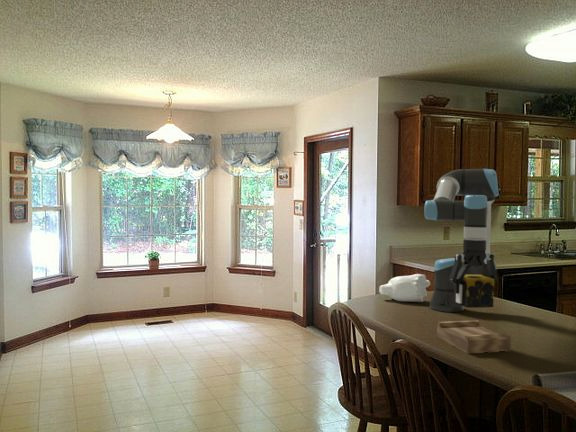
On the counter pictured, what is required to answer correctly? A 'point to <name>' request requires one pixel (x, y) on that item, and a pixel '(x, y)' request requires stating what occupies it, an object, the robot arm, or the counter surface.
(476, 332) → the display stand
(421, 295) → the mask
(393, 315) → the counter surface
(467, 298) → the candle
